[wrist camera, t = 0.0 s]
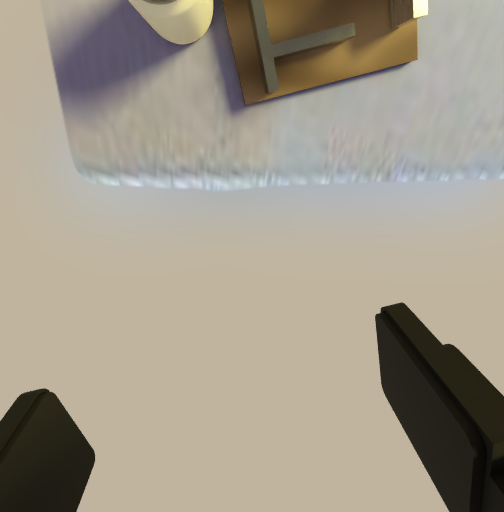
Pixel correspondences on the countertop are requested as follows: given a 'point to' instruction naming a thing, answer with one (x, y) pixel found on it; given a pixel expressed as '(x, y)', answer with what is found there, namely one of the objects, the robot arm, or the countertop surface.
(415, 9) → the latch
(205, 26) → the can
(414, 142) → the countertop surface
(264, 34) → the can holder
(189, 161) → the countertop surface
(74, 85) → the countertop surface
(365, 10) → the rail board
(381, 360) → the robot arm
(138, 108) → the countertop surface
